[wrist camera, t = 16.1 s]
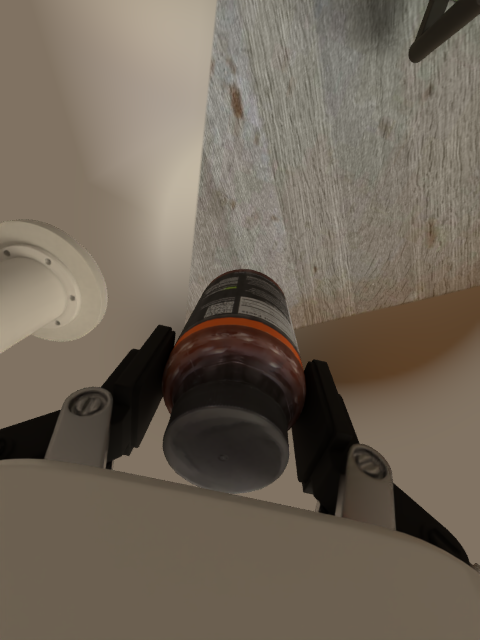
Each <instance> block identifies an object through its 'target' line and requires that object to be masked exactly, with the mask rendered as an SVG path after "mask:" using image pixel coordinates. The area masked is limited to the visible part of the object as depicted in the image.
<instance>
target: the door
mask: <svg viewBox="0 0 480 640" xmlns="http://www.w3.org/2000/svg"><path fill="white" fill-rule="evenodd" d="M453 1H457V2H456V3H455V4H454V5H453V6H452V7H451V8H450V9H448V10H447V11H446V12H445V10H446V7H447V4H448V2H449V0H429V3H428V6H427V9H426V11H425V14H424V17H423V20H422V22H421V25H420V28H419V31H418V34H417V36H416V39H415V42H414V43H413V44H412V45H411V47H410V49H409V59H410V61H411V62H413V63H417V62H420V61H421V60H422V59H424V58H425V57H426V56H427V55H429V54H430V53H431V52H432V51H434V50H435V49H436V48H437V47H439V46H440V45H441V44H442V43H444V42H445V41H446V40H447V39H449V38H450V37H451V36H452V35H454V34H455V33H456V32H458V31H459V30H460V29H461V28H463V27H464V26H465V25H466V24H468V23H469V22H470V21H471V20H473V19H474V18H475V17H476V16H478V15H479V14H480V0H453ZM444 12H445V13H444Z"/></svg>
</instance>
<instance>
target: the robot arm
mask: <svg viewBox="0 0 480 640" xmlns="http://www.w3.org/2000/svg"><path fill="white" fill-rule="evenodd" d="M80 307H81V293H80V289H79V286H78V283H77V281H76V279H75V277H74V276H73V274H72V273H71V271H70V270H69V269H68V268H67V266H66V265H65V264H64V263H63V262H62V261H60V260H59V259H58V258H57V257H56V256H54V255H53V254H51V253H50V252H48V251H46V250H44V249H42V248H40V247H36V246H33V245H28V244H15V245H10V246H6V247H4V248H2V249H0V353H2V352H3V351H5V350H7V349H8V348H10V347H11V346H13V345H14V344H16V343H18V342H19V341H21V340H22V339H24V338H26V337H27V336H29V335H30V334H32V333H33V332H35V331H37V330H38V329H40V328H48V329H50V328H59V327H62V326H64V325H66V324H68V323H69V322H71V321H72V320H73V319H74V318H75V317H76V316H77V315H78V313H79V310H80ZM174 342H175V331H172V328H171V327H167V326H163V325H158V326H157V328H156V329H155V330H154V332H153V333H152V334H151V336H150V337H149V338H148V339H147V341H146V342H145V343H144V345H143V346H142V347H141V349H140V350H137V349H132V350H131V351H130V352H129V353H128V354H127V356H126V357H125V358H124V359H123V360H122V362H121V363H120V364H119V365H118V367H117V368H116V369H115V371H114V372H113V373H112V374H111V376H110V377H109V378H108V379H107V381H106V382H105V383H104V384H103V385H102V386H101V388H100V387H88V388H83V389H80V390H77V391H76V392H74V393H72V394H71V395H70V396H69V397H68V398H66V400H65V402H64V403H63V406H62V409H61V410H58V411H56V412H52V413H49V414H46V415H43V416H40V417H37V418H34V419H31V420H28V421H25V422H22V423H18V424H16V425H12V426H9V427H6V428H3V429H0V640H480V566H479V565H478V564H477V563H475V564H474V565H472V564H471V563H470V562H469V559H468V557H467V554H466V552H465V551H464V549H463V547H462V546H461V544H460V543H459V542H458V540H457V539H456V538H455V537H454V536H453V535H452V534H451V533H450V532H449V531H448V530H447V529H446V528H445V527H443V525H441V524H440V523H439V522H438V521H437V520H436V519H434V518H433V517H432V516H431V515H430V514H429V513H427V512H426V511H425V510H424V509H423V508H422V507H420V506H419V505H418V504H417V503H416V502H415V501H413V500H412V499H411V498H410V497H409V496H408V495H407V494H405V493H404V492H403V491H402V490H401V489H400V488H398V487H397V486H396V485H395V484H394V483H393V479H392V471H391V468H390V466H389V464H388V462H387V461H386V460H385V458H384V457H383V456H382V455H381V454H380V453H378V451H376V450H374V449H373V448H372V447H369V446H367V445H365V444H359V441H358V439H357V436H356V433H355V430H354V428H353V425H352V422H351V420H350V417H349V414H348V412H347V409H346V407H345V404H344V402H343V399H342V397H341V396H340V394H338V392H337V389H336V386H335V384H334V381H333V378H332V375H331V373H330V370H329V367H328V364H327V362H324V361H319V360H313V361H312V362H308V363H307V365H306V368H305V370H304V375H305V383H306V397H305V402H304V407H303V409H302V412H301V414H300V416H299V418H298V420H297V421H296V423H295V424H294V425H293V426H292V435H293V442H294V451H295V459H296V467H297V476H298V481H299V482H302V486H303V492H304V493H309V494H313V495H314V497H315V498H316V499H317V504H316V509H315V512H314V511H309V510H305V509H300V508H295V507H291V506H286V505H281V504H276V503H272V502H267V501H262V500H257V499H253V498H248V497H243V496H238V495H233V494H229V493H224V492H219V491H214V490H209V489H204V488H199V487H194V486H189V485H185V484H180V483H174V482H170V481H165V480H159V479H155V478H150V477H145V476H139V475H135V474H129V473H125V472H120V471H115V470H113V463H114V460H115V459H116V458H119V457H121V456H122V455H127V456H129V455H130V453H131V451H132V449H133V447H135V448H138V447H139V445H140V443H141V441H142V439H143V437H144V435H145V433H146V431H147V429H148V426H149V424H150V422H151V420H152V418H153V416H154V414H155V412H156V410H157V408H158V405H159V403H160V401H161V399H162V397H163V393H162V376H163V372H164V368H165V365H166V363H167V360H168V358H169V356H170V353H171V352H172V350H173V348H174Z"/></svg>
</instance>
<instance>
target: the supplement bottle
mask: <svg viewBox="0 0 480 640" xmlns="http://www.w3.org/2000/svg"><path fill="white" fill-rule="evenodd" d="M162 393H163V397H164V401H165V405H166V407H167V409H168V411H169V413H170V414H171V417H170V420H169V423H168V426H167V428H166V431H165V434H164V437H163V451H164V455H165V457H166V459H167V461H168V463H169V465H170V466H171V467H172V468H173V469H174V471H175V472H176V473H177V474H178V475H180V476H181V477H183V478H184V479H185V480H187V481H189V482H190V483H192V484H195V485H196V486H198V487H201V488H204V489H209V490H214V491H219V492H224V493H230V494H237V493H246V492H251V491H255V490H259V489H262V488H264V487H266V486H268V485H269V484H271V483H272V482H274V481H275V480H276V479H278V478H279V477H280V476H281V474H282V473H283V472H284V470H285V468H286V466H287V463H288V459H289V444H288V433H287V431H288V430H289V429H290V428H291V427H292V426H293V425H294V424H295V423H296V421H297V420H298V418H299V416H300V414H301V412H302V409H303V407H304V402H305V397H306V383H305V375H304V371H303V366H302V362H301V357H300V353H299V350H298V346H297V341H296V337H295V333H294V329H293V325H292V321H291V317H290V313H289V309H288V305H287V302H286V298H285V296H284V293H283V292H282V290H281V288H280V287H279V286H278V284H277V283H275V282H274V281H273V280H272V279H271V278H269V277H268V276H267V275H265V274H262V273H260V272H257V271H254V270H250V269H239V270H233V271H229V272H226V273H224V274H222V275H220V276H218V277H217V278H216V279H214V280H213V281H212V282H211V283H210V284H209V286H208V287H207V288H206V289H205V291H204V292H203V294H202V296H201V298H200V300H199V301H198V303H197V305H196V307H195V309H194V311H193V313H192V314H191V316H190V318H189V320H188V322H187V324H186V325H185V327H184V329H183V331H182V333H181V335H180V336H179V338H178V340H177V342H176V344H175V346H174V348H173V350H172V352H171V353H170V356H169V358H168V360H167V363H166V365H165V368H164V372H163V376H162Z"/></svg>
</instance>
